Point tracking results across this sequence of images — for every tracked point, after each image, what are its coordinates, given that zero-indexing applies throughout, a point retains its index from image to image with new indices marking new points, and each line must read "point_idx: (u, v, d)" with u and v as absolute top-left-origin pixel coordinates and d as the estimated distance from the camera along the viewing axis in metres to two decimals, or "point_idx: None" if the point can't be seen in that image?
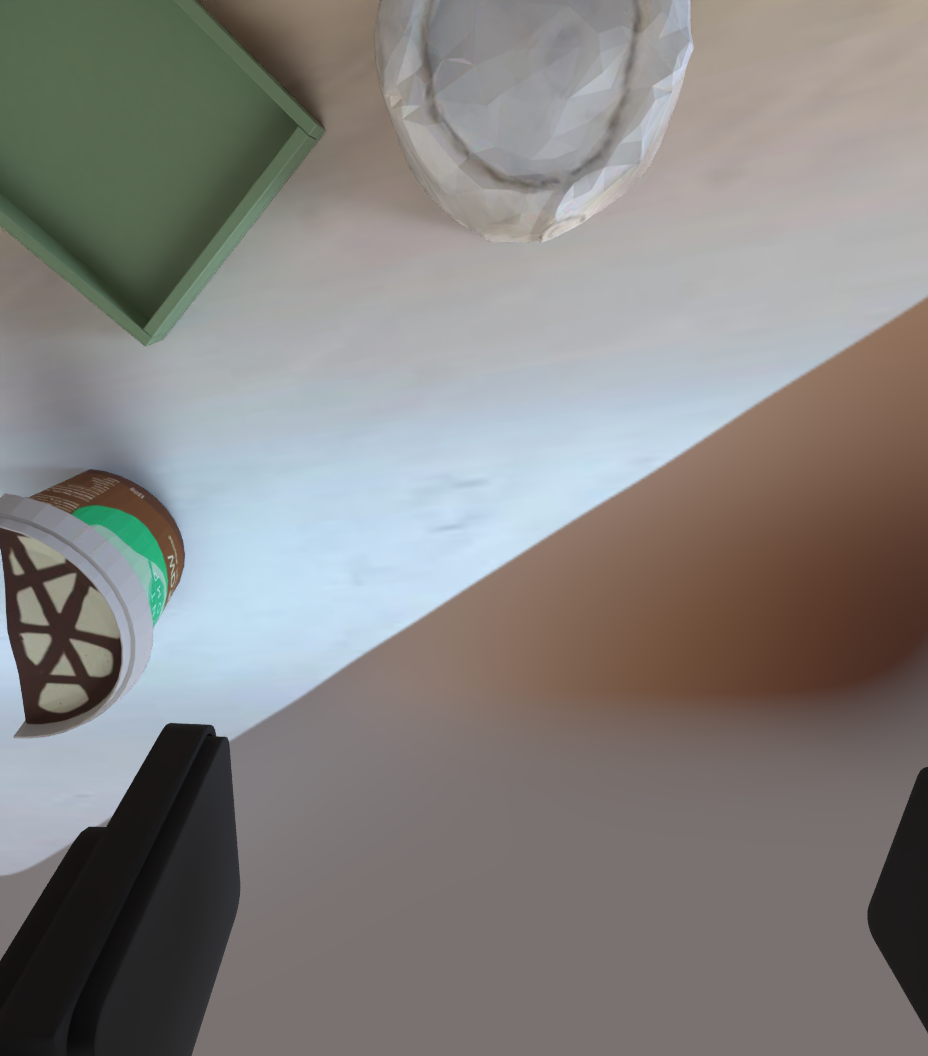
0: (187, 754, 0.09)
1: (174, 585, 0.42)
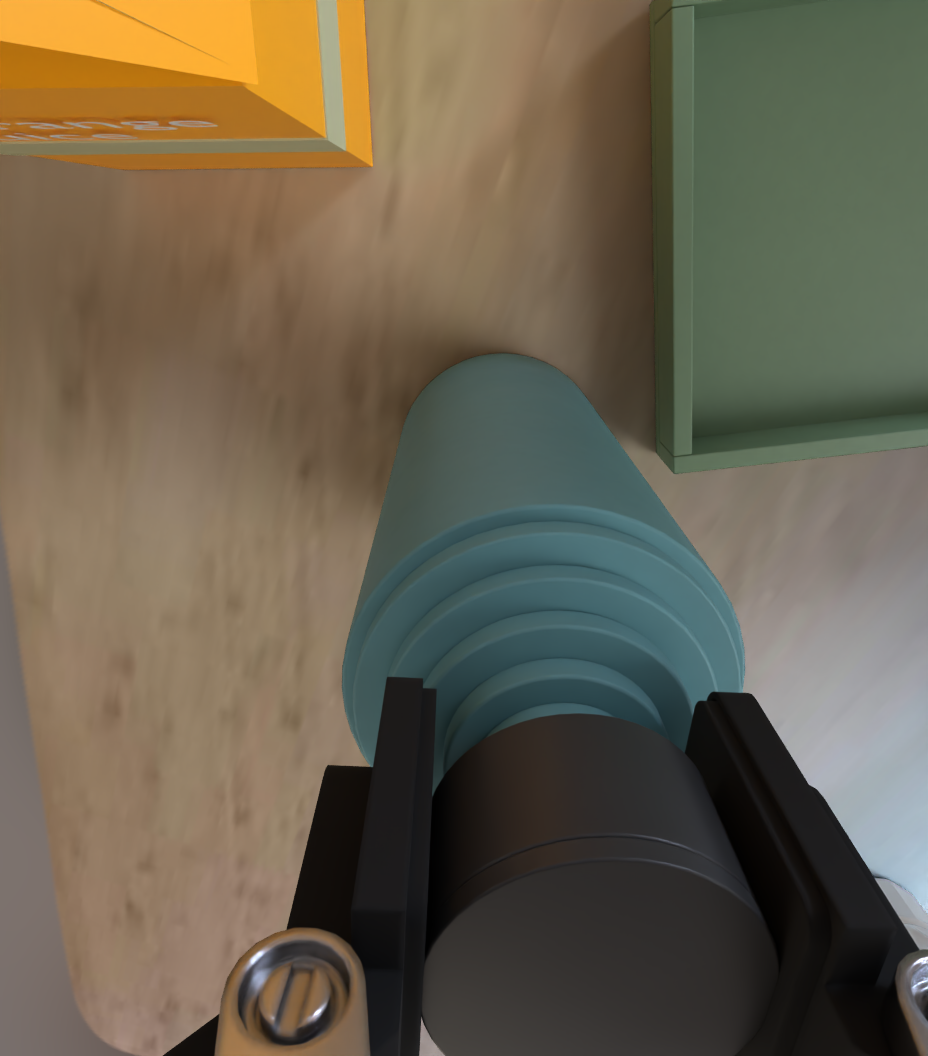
0: (416, 701, 0.10)
1: None
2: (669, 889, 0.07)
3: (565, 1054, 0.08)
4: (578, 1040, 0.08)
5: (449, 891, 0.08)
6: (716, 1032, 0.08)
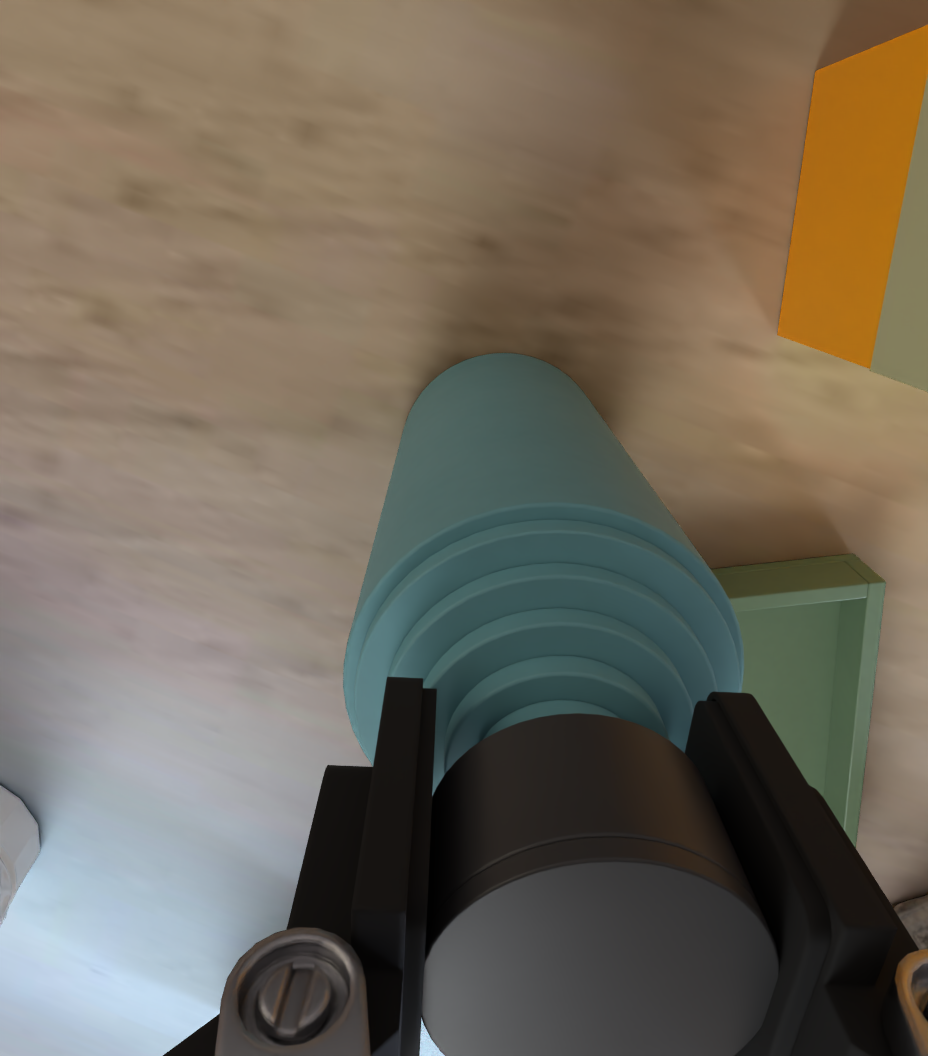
0: (416, 701, 0.10)
1: None
2: (669, 889, 0.07)
3: (565, 1054, 0.08)
4: (578, 1040, 0.08)
5: (449, 891, 0.08)
6: (716, 1032, 0.08)
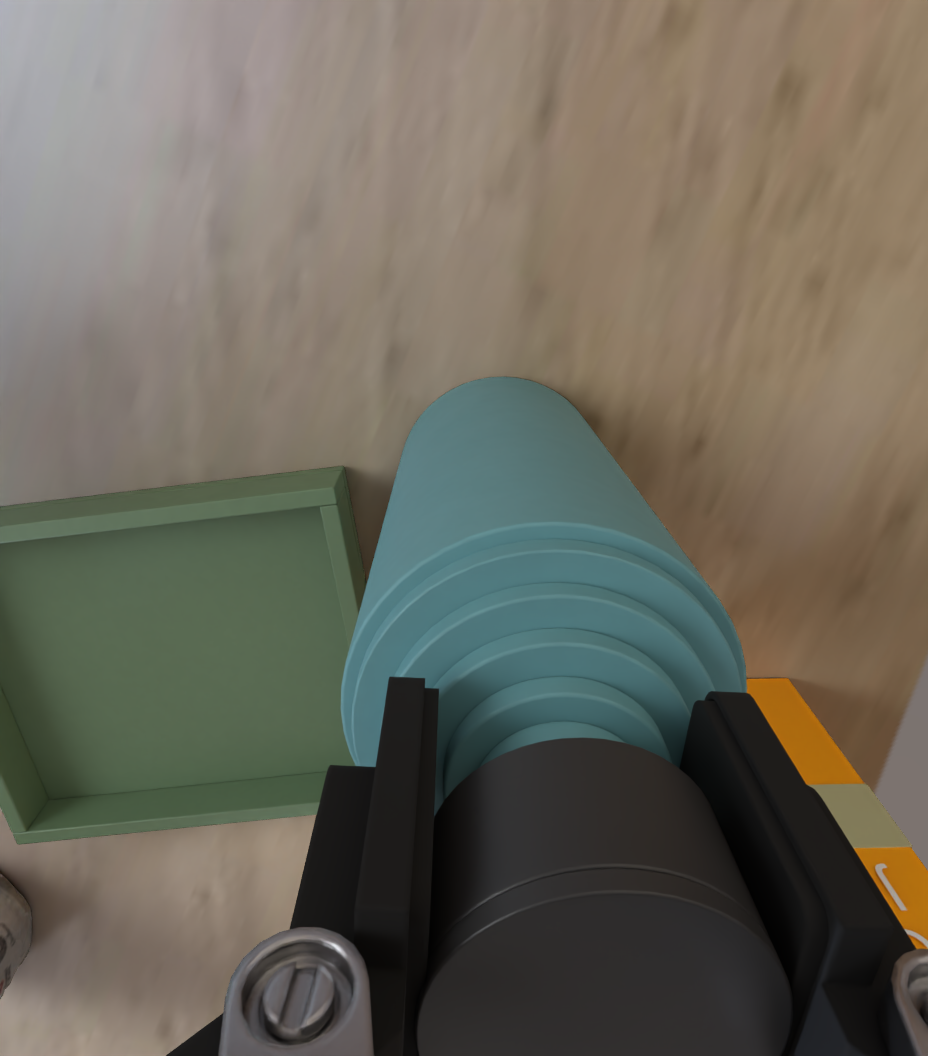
0: (418, 701, 0.10)
1: None
2: (678, 923, 0.07)
3: None
4: None
5: (449, 924, 0.07)
6: None
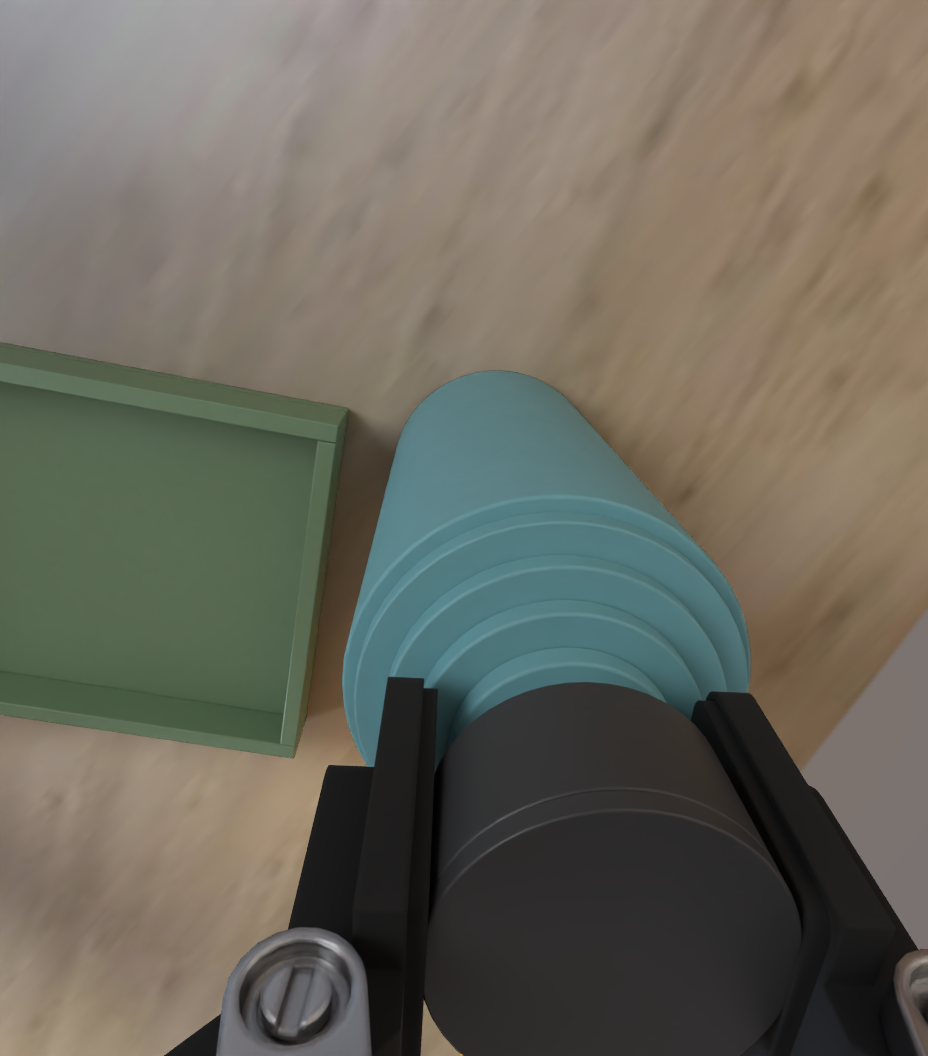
0: (417, 701, 0.10)
1: None
2: None
3: (648, 890, 0.07)
4: (633, 910, 0.07)
5: None
6: (476, 917, 0.07)
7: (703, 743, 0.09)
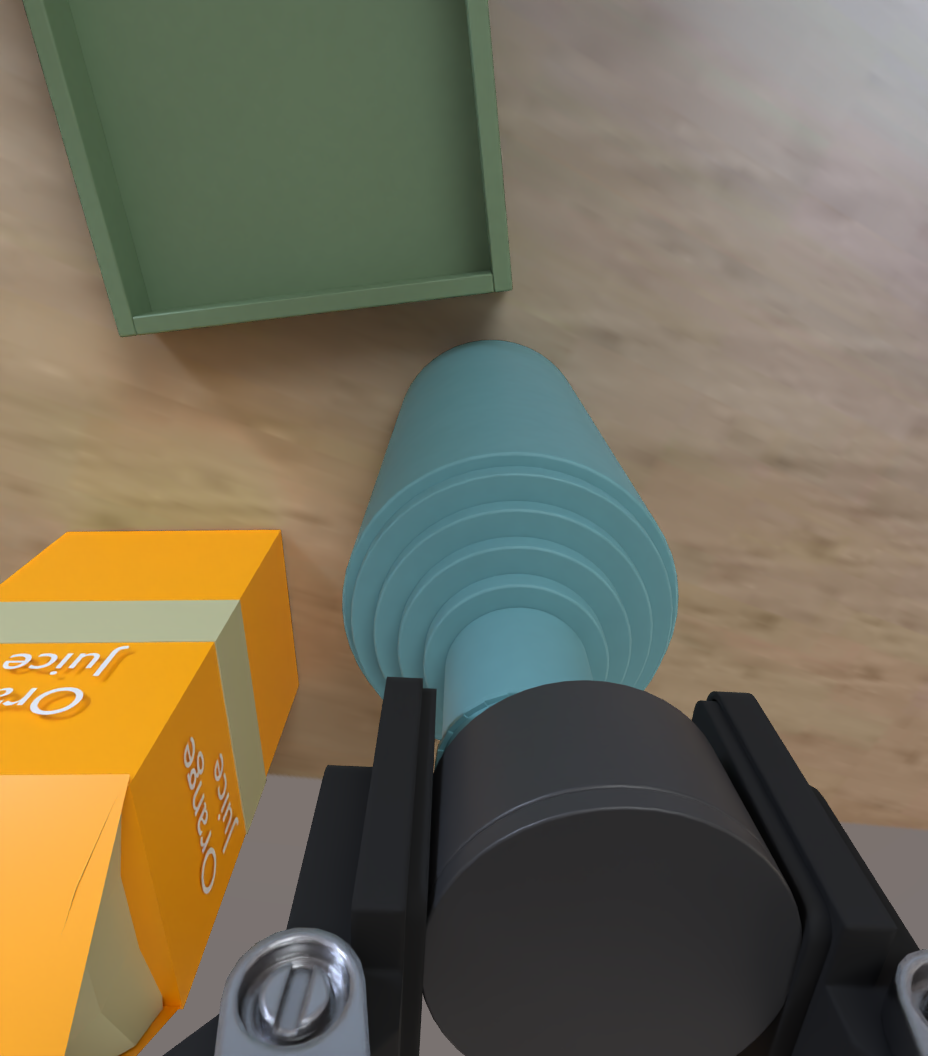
0: (416, 701, 0.10)
1: None
2: None
3: (647, 887, 0.07)
4: (632, 908, 0.07)
5: None
6: (476, 916, 0.07)
7: (702, 741, 0.09)
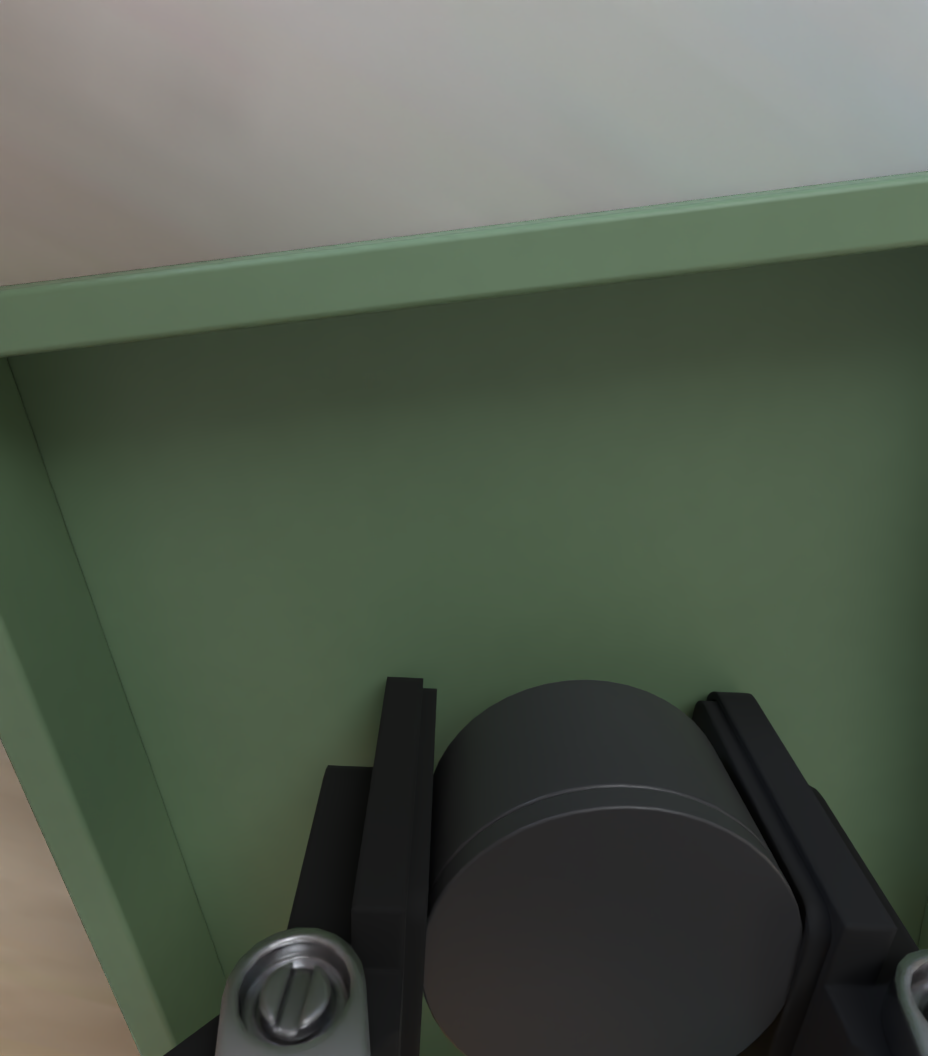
0: (416, 701, 0.10)
1: None
2: None
3: (648, 887, 0.07)
4: (633, 908, 0.07)
5: None
6: (477, 916, 0.07)
7: (703, 740, 0.09)
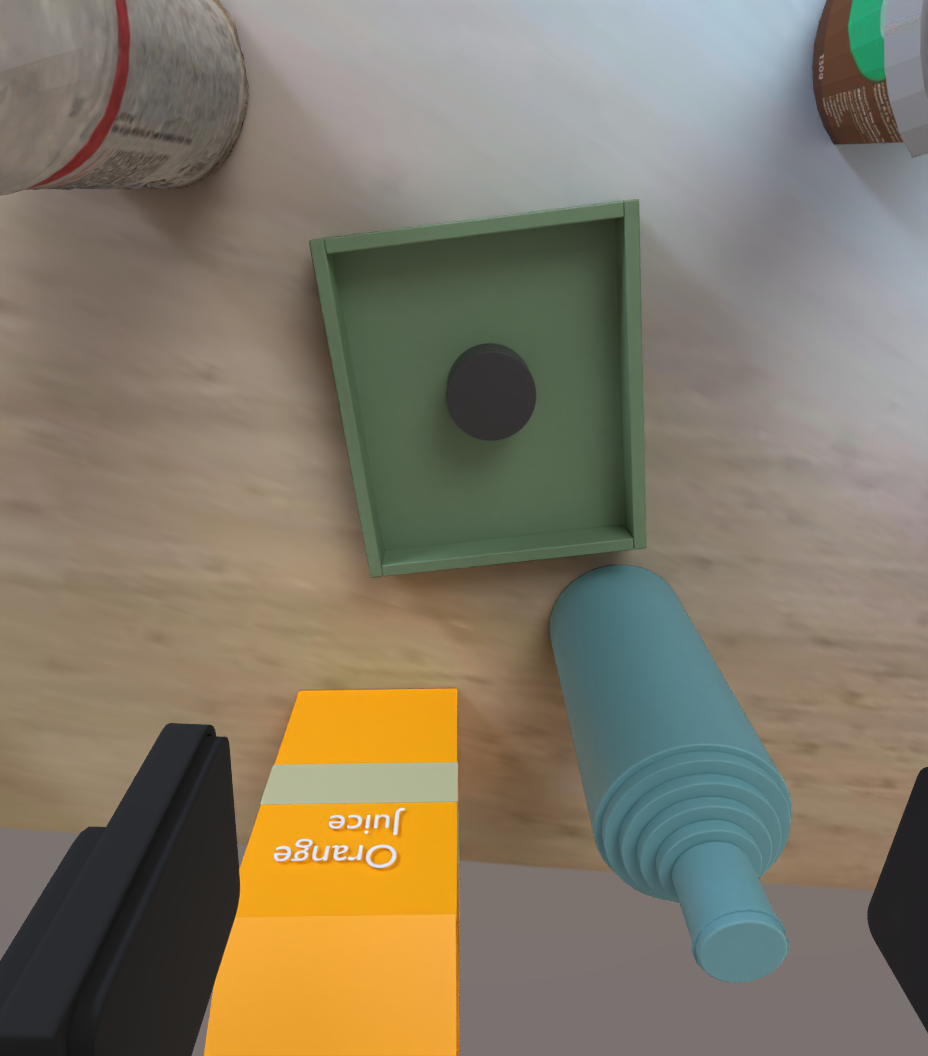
0: (187, 754, 0.09)
1: None
2: (477, 432, 0.32)
3: (498, 374, 0.31)
4: (495, 380, 0.31)
5: None
6: (460, 382, 0.31)
7: (521, 358, 0.33)
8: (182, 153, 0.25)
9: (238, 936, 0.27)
